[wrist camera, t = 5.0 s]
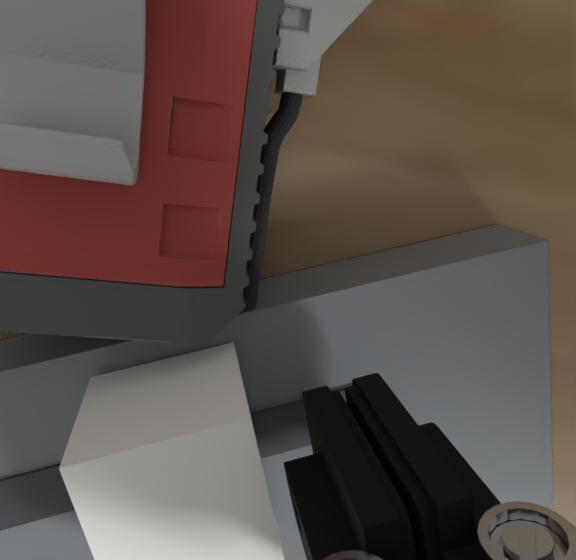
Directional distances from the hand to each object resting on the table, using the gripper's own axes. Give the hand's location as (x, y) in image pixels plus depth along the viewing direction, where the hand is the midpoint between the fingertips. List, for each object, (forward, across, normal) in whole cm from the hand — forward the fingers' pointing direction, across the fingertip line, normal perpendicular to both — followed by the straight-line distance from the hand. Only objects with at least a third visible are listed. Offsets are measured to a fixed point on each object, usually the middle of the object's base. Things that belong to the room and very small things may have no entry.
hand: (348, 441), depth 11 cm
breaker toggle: (+1, +3, 0) cm, 4 cm away
